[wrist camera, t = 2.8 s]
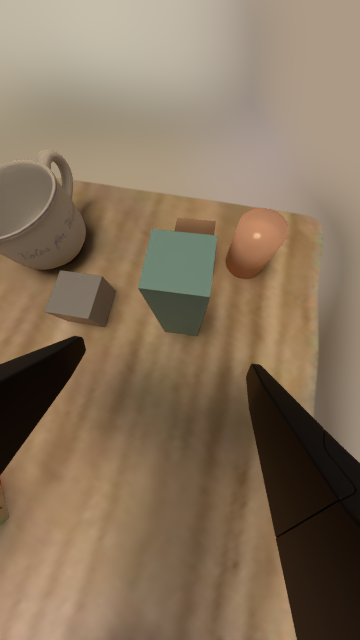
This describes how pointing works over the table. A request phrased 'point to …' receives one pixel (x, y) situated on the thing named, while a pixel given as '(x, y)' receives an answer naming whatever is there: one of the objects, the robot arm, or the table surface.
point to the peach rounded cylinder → (256, 242)
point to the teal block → (178, 278)
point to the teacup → (39, 213)
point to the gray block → (81, 298)
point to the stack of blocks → (3, 507)
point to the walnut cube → (195, 226)
